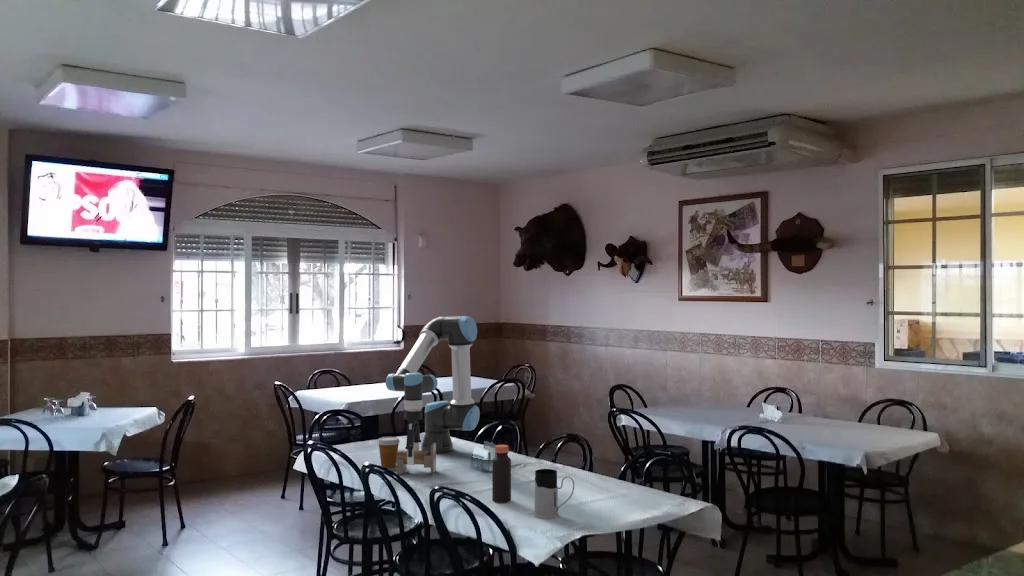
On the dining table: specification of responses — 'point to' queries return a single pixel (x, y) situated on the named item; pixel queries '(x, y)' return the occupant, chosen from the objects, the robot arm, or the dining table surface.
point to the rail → (417, 456)
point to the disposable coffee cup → (388, 451)
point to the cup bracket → (431, 459)
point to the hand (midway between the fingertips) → (413, 461)
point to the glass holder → (547, 494)
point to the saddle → (400, 466)
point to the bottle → (501, 475)
